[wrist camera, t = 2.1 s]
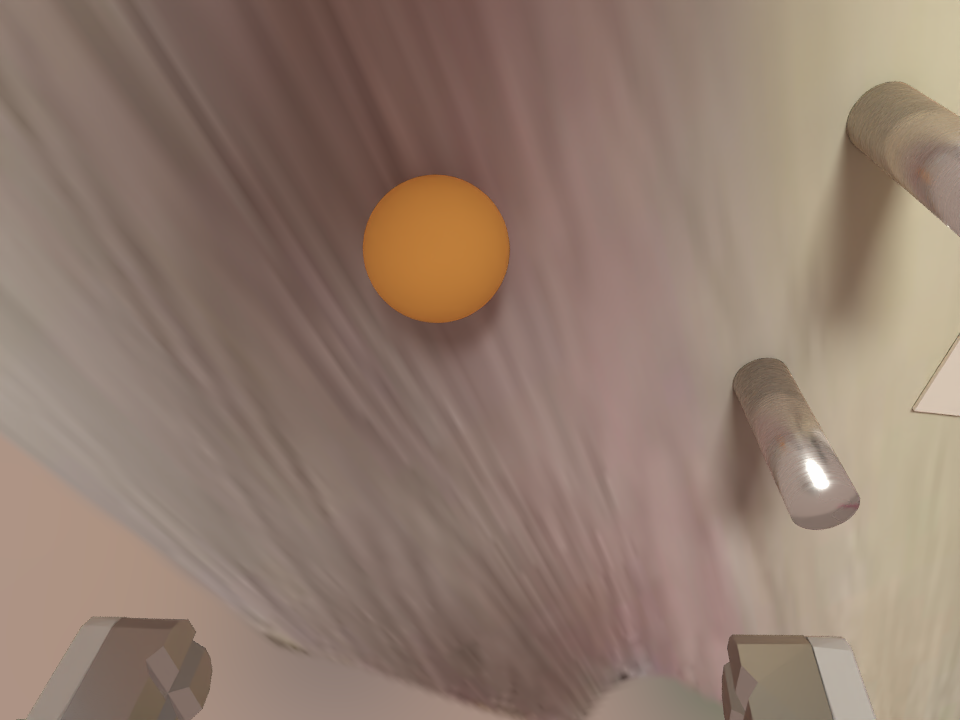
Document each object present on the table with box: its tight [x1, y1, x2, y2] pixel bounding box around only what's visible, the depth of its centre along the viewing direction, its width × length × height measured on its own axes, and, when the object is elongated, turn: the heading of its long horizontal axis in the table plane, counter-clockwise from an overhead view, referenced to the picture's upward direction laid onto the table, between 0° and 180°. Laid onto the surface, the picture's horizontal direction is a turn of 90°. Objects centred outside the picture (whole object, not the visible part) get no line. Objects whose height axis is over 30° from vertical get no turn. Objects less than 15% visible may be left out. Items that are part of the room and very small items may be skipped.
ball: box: [363, 175, 510, 323], centre depth 27 cm, size 6×6×6 cm
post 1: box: [733, 358, 860, 530], centre depth 32 cm, size 3×3×8 cm
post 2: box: [847, 81, 960, 237], centre depth 24 cm, size 3×3×8 cm
